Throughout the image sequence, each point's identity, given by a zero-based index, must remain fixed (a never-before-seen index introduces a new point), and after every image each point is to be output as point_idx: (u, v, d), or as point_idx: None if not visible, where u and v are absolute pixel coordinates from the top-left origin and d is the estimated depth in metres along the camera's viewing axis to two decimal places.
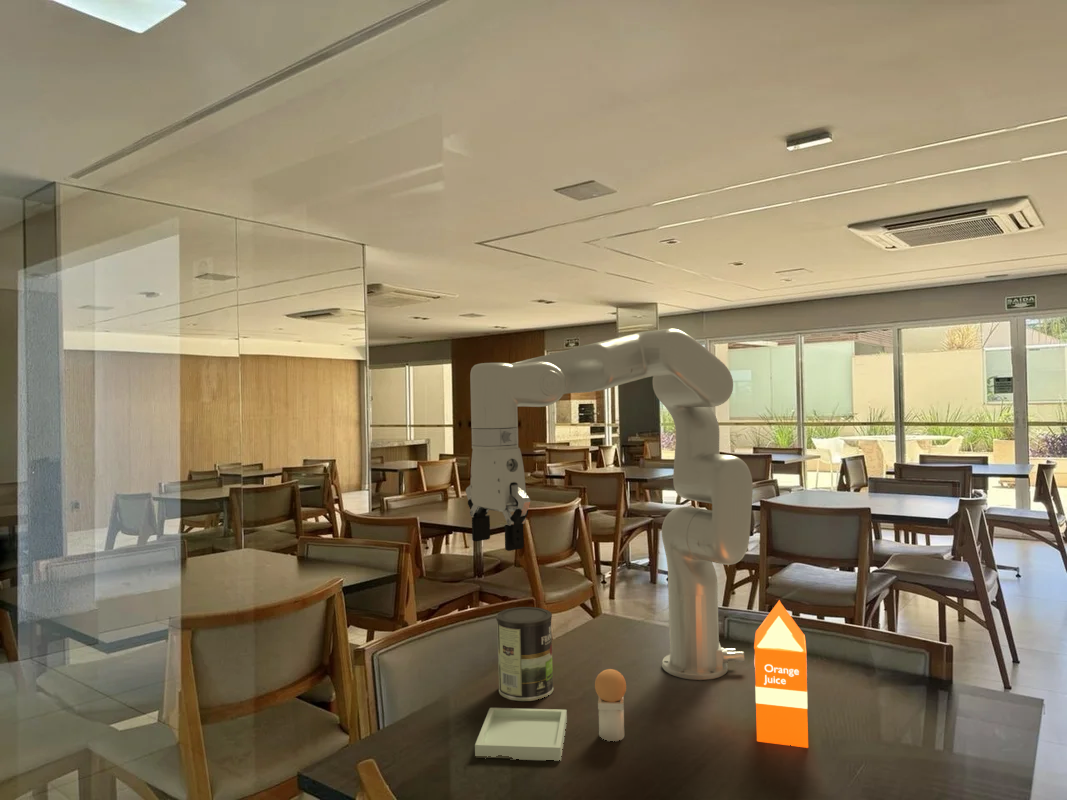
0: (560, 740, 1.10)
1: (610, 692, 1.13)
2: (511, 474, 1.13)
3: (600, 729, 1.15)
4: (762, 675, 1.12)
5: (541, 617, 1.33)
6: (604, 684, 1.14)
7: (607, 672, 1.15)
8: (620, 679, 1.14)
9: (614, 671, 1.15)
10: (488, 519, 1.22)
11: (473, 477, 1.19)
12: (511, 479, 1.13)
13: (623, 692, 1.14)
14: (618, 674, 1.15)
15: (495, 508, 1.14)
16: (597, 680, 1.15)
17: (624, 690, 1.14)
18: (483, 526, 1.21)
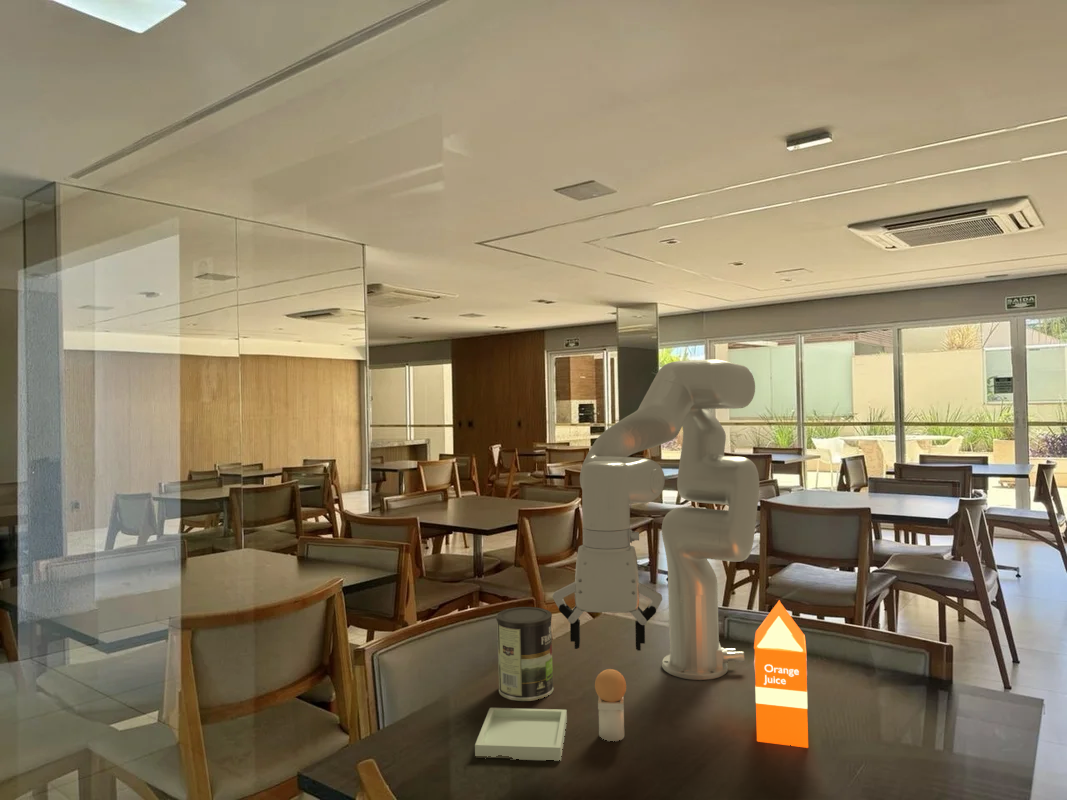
0: (560, 740, 1.10)
1: (610, 692, 1.13)
2: None
3: (600, 729, 1.15)
4: (762, 675, 1.12)
5: (541, 617, 1.33)
6: (604, 684, 1.14)
7: (607, 672, 1.15)
8: (620, 679, 1.14)
9: (614, 671, 1.15)
10: None
11: (586, 581, 1.13)
12: (638, 578, 1.14)
13: (623, 692, 1.14)
14: (618, 674, 1.15)
15: (624, 610, 1.13)
16: (597, 680, 1.15)
17: (624, 690, 1.14)
18: (579, 631, 1.16)
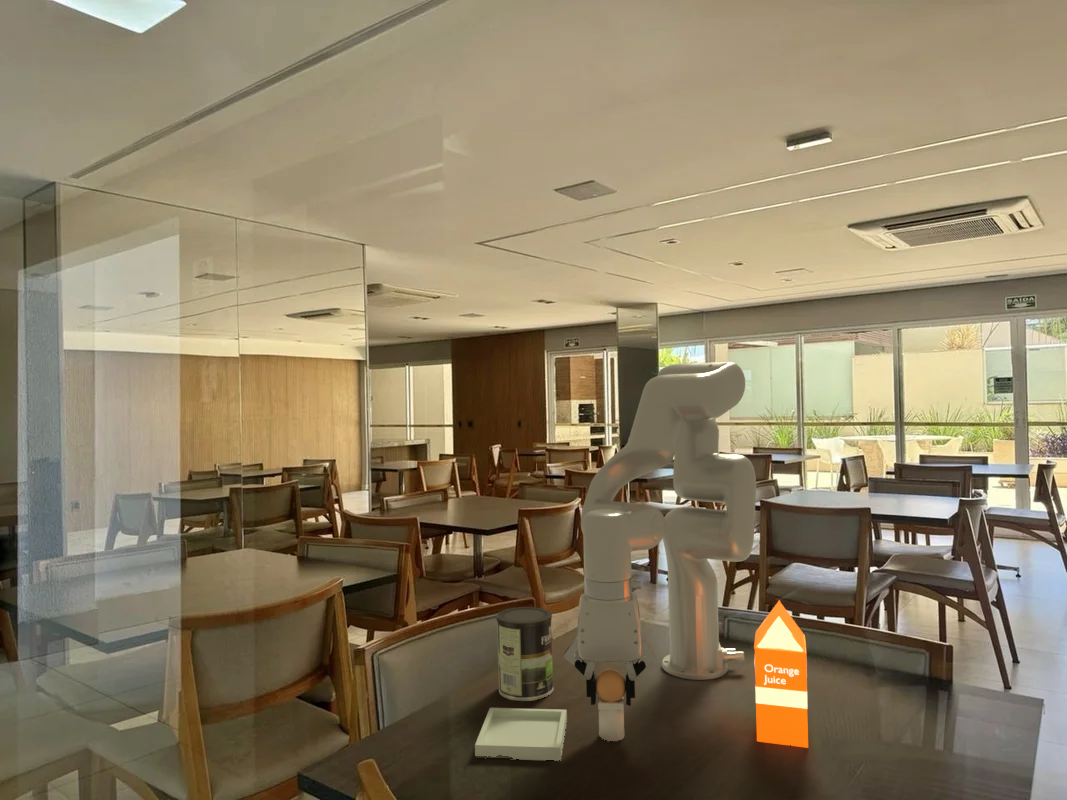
0: (560, 740, 1.10)
1: (610, 692, 1.13)
2: None
3: (600, 729, 1.15)
4: (762, 675, 1.12)
5: (541, 617, 1.33)
6: (604, 684, 1.14)
7: (607, 672, 1.15)
8: (620, 679, 1.14)
9: (614, 671, 1.15)
10: (595, 677, 1.17)
11: (588, 631, 1.14)
12: (640, 627, 1.15)
13: (623, 692, 1.14)
14: (618, 674, 1.15)
15: (627, 660, 1.13)
16: (597, 680, 1.15)
17: (624, 690, 1.14)
18: None
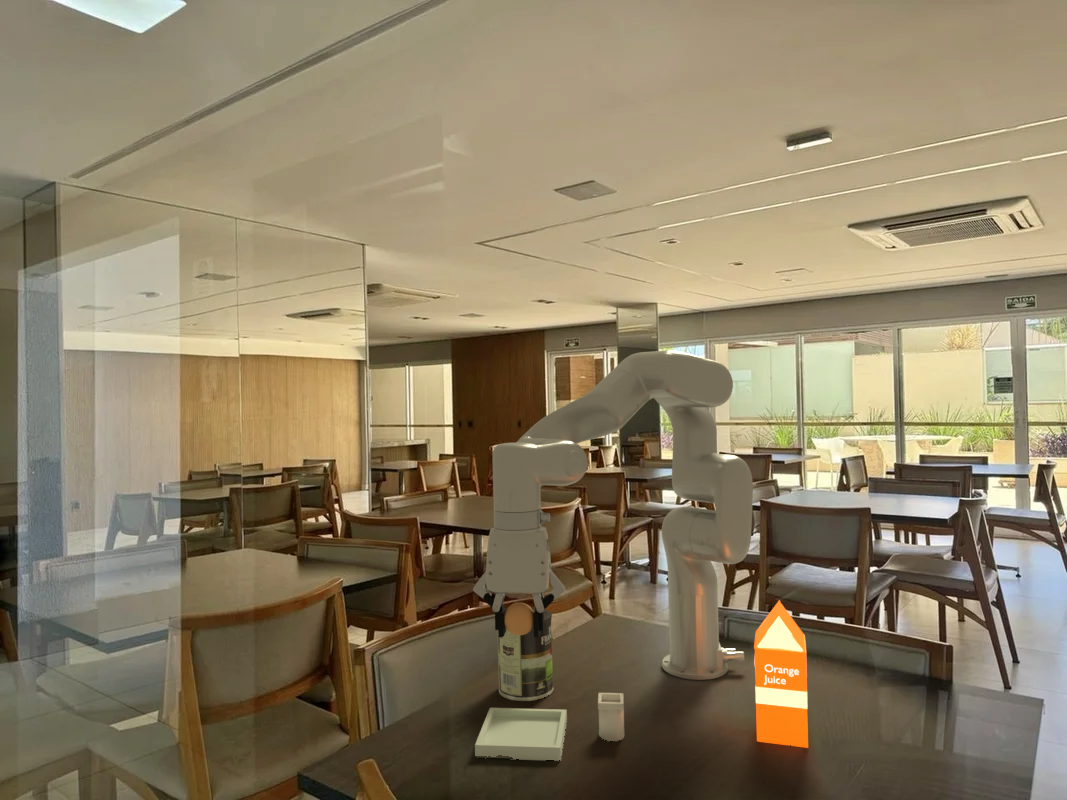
0: (560, 740, 1.10)
1: (517, 624, 1.13)
2: (548, 554, 1.14)
3: (600, 729, 1.15)
4: (762, 675, 1.12)
5: None
6: (511, 616, 1.13)
7: (515, 605, 1.14)
8: (528, 611, 1.14)
9: (523, 604, 1.15)
10: (505, 611, 1.17)
11: (496, 563, 1.13)
12: (549, 559, 1.14)
13: (531, 624, 1.14)
14: (526, 606, 1.14)
15: (534, 591, 1.13)
16: (505, 613, 1.15)
17: (532, 622, 1.14)
18: None
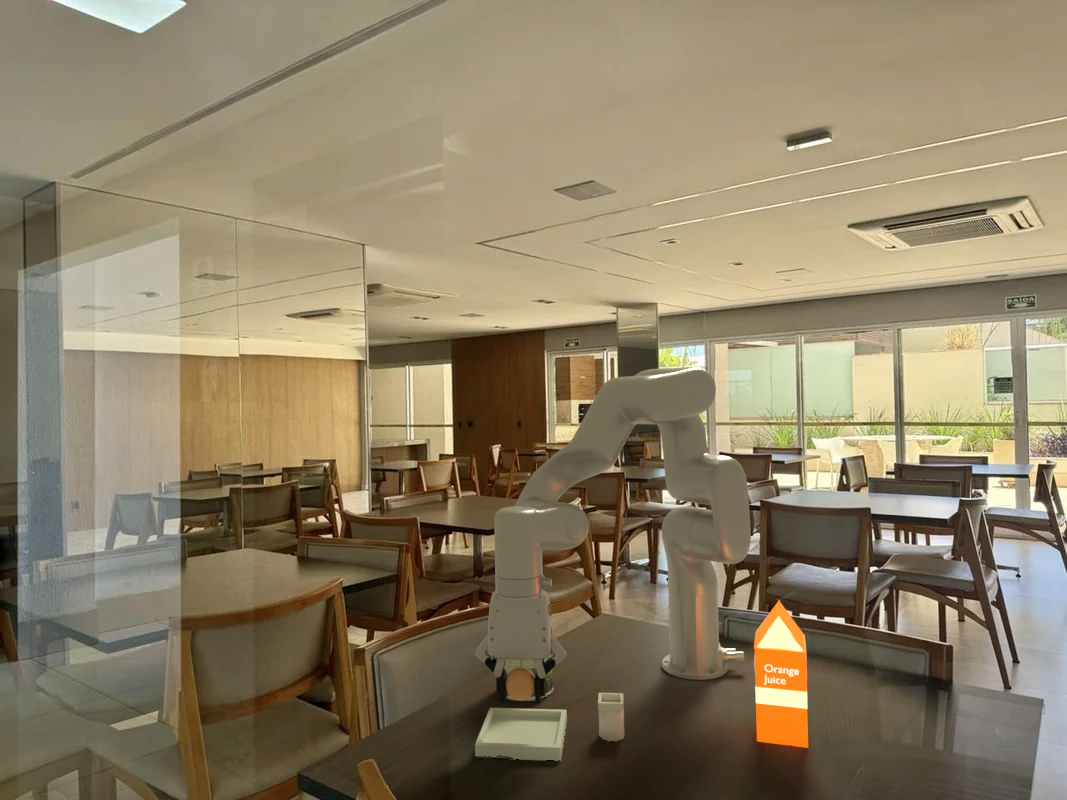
0: (560, 740, 1.10)
1: (518, 690, 1.13)
2: (550, 620, 1.14)
3: (600, 729, 1.15)
4: (762, 675, 1.12)
5: None
6: (513, 682, 1.13)
7: (517, 670, 1.14)
8: (530, 677, 1.14)
9: (524, 669, 1.15)
10: None
11: (497, 629, 1.13)
12: (550, 624, 1.14)
13: (532, 690, 1.14)
14: (527, 671, 1.15)
15: (535, 657, 1.13)
16: (507, 678, 1.15)
17: (533, 688, 1.14)
18: None
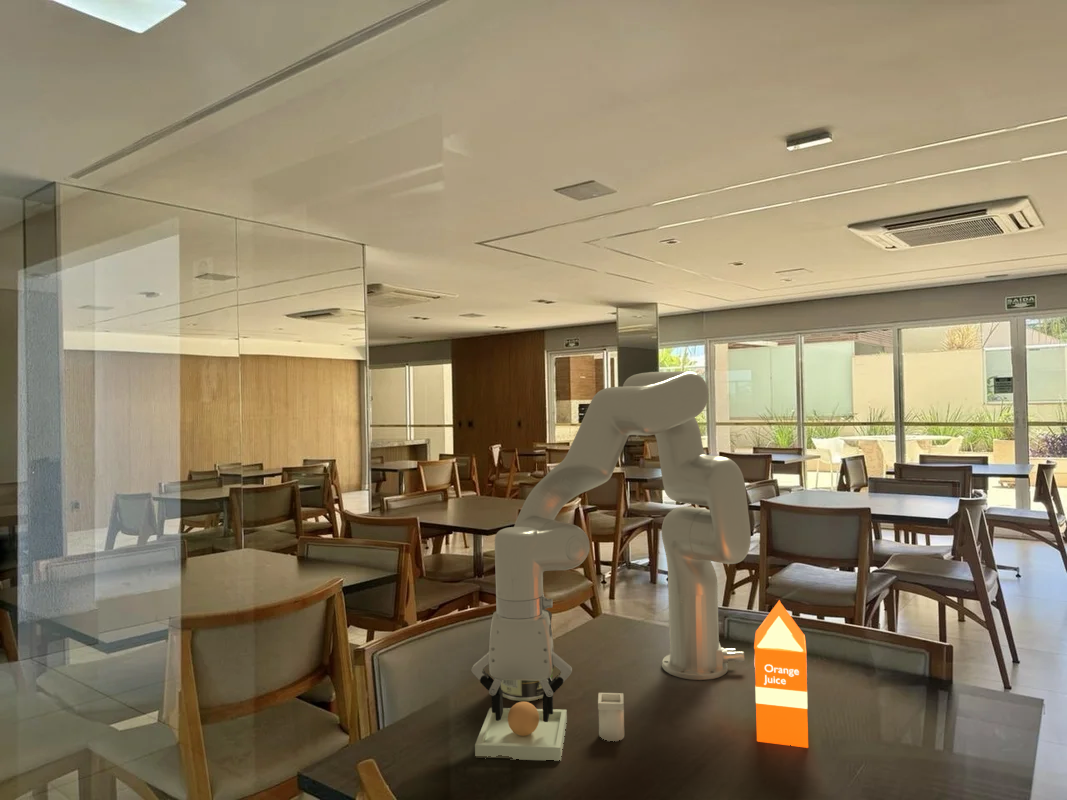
0: (560, 740, 1.10)
1: (521, 726, 1.13)
2: (551, 640, 1.14)
3: (600, 729, 1.15)
4: (762, 675, 1.12)
5: None
6: (516, 717, 1.13)
7: (520, 705, 1.15)
8: (533, 713, 1.14)
9: (527, 704, 1.15)
10: (502, 692, 1.17)
11: (498, 650, 1.13)
12: (551, 645, 1.14)
13: (535, 726, 1.14)
14: (531, 707, 1.15)
15: (537, 678, 1.13)
16: (510, 712, 1.15)
17: (536, 724, 1.14)
18: (501, 701, 1.16)
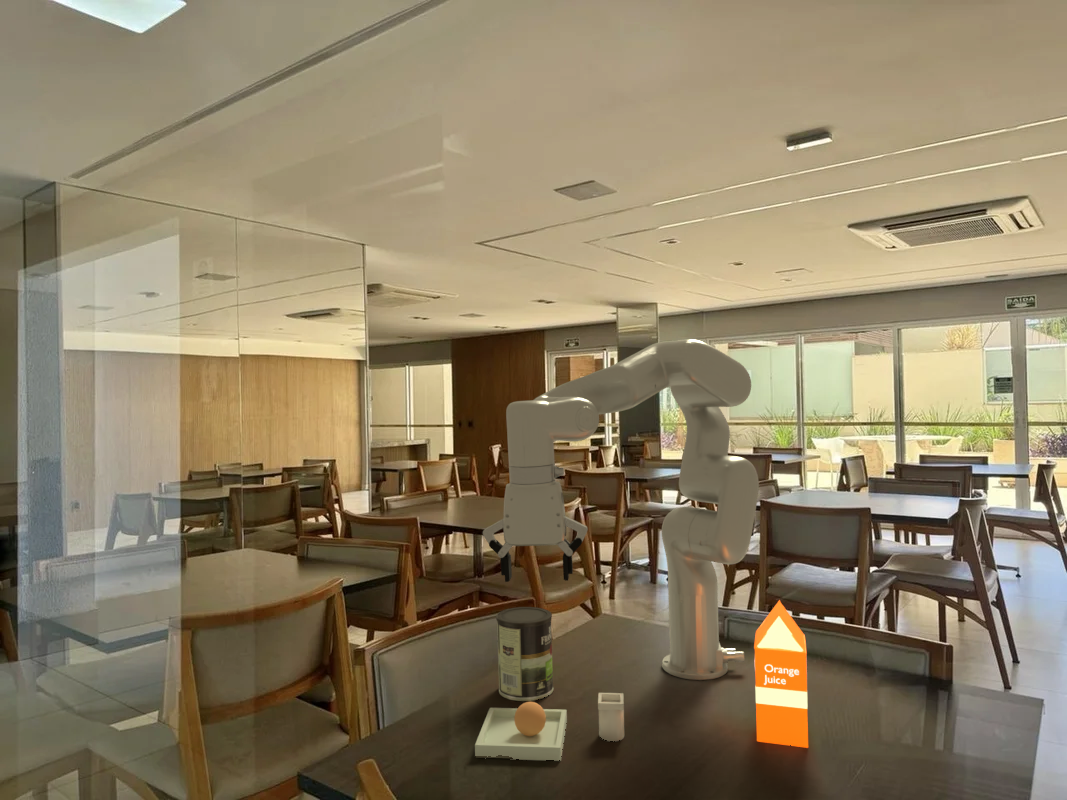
0: (560, 740, 1.10)
1: (527, 726, 1.13)
2: (563, 507, 1.18)
3: (600, 729, 1.15)
4: (762, 675, 1.12)
5: (541, 617, 1.33)
6: (526, 716, 1.13)
7: (533, 706, 1.14)
8: (542, 719, 1.14)
9: (540, 708, 1.15)
10: (510, 557, 1.21)
11: (513, 516, 1.17)
12: (564, 511, 1.18)
13: (539, 731, 1.14)
14: (542, 712, 1.14)
15: (550, 542, 1.17)
16: (521, 708, 1.15)
17: (541, 730, 1.14)
18: (510, 565, 1.20)
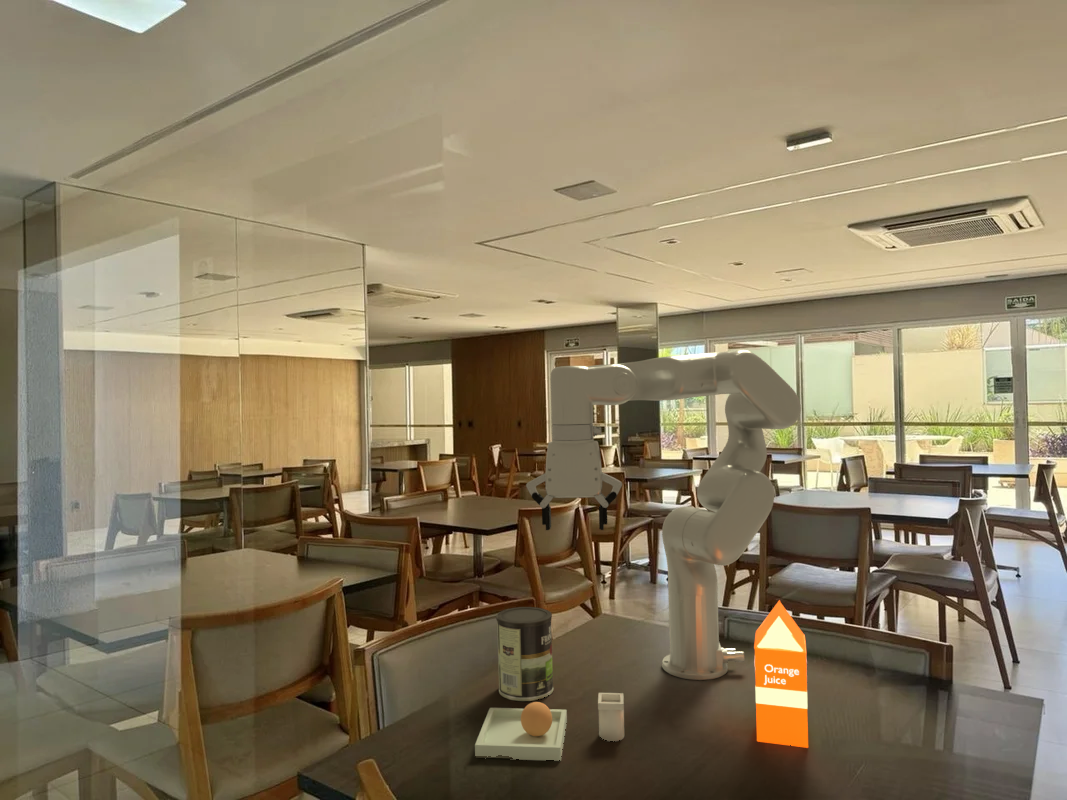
0: (560, 740, 1.10)
1: (533, 726, 1.13)
2: (600, 463, 1.30)
3: (600, 729, 1.15)
4: (762, 675, 1.12)
5: (541, 617, 1.33)
6: (536, 716, 1.13)
7: (545, 710, 1.14)
8: (549, 725, 1.14)
9: (550, 714, 1.15)
10: (550, 509, 1.33)
11: (554, 470, 1.29)
12: None
13: (541, 734, 1.14)
14: (551, 718, 1.14)
15: (588, 494, 1.29)
16: (533, 707, 1.14)
17: (543, 734, 1.14)
18: (550, 515, 1.32)
